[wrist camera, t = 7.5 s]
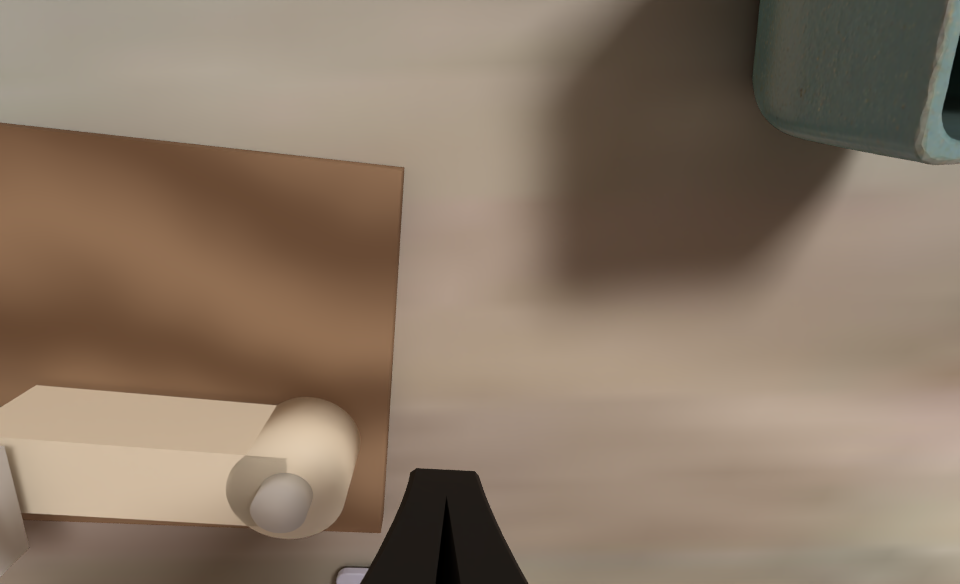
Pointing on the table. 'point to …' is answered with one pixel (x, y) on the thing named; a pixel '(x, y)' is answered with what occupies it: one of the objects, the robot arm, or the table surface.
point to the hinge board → (197, 286)
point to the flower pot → (863, 74)
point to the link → (180, 458)
